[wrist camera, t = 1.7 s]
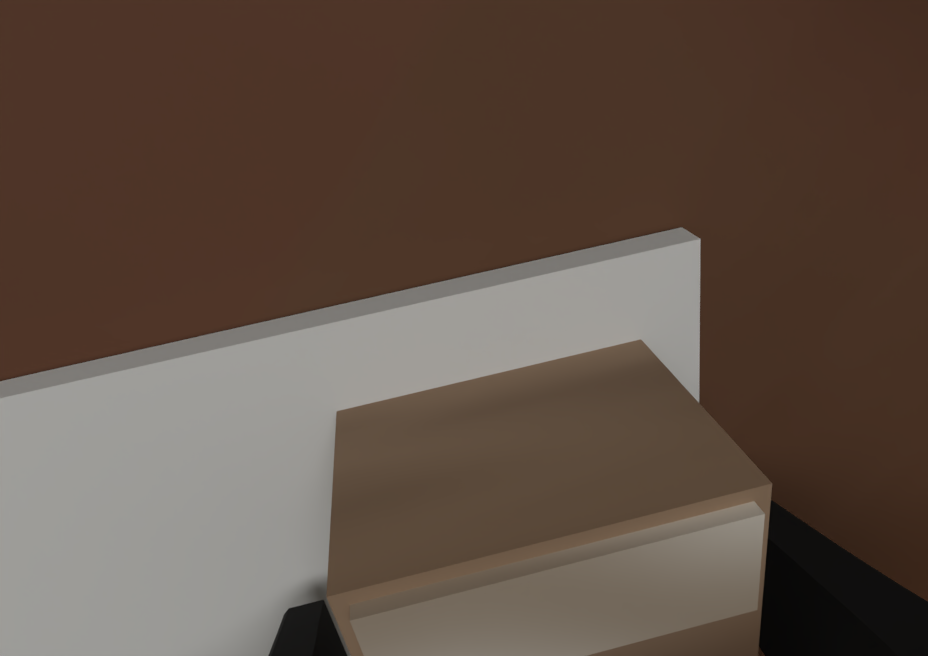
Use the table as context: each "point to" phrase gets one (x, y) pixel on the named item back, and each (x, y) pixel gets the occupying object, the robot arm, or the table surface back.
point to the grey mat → (270, 445)
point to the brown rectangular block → (547, 518)
